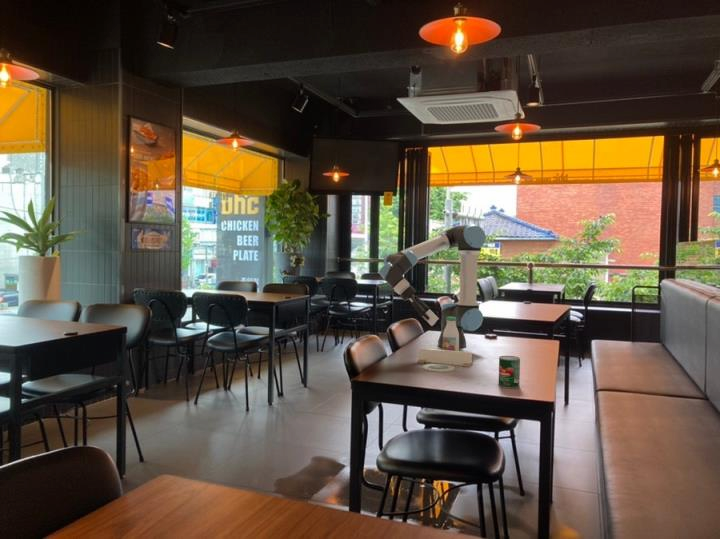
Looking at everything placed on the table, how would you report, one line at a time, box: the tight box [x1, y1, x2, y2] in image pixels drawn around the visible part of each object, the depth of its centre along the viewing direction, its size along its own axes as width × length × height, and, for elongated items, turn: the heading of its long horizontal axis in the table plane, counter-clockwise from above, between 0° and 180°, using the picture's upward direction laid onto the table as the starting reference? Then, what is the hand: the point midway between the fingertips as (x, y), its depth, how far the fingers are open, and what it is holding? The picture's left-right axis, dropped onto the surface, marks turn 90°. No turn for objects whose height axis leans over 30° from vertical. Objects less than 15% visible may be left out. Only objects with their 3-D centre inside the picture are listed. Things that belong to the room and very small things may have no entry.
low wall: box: [417, 347, 473, 368], centre depth 260 cm, size 24×6×6 cm, turn 69°
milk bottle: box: [442, 317, 460, 351], centre depth 271 cm, size 8×8×20 cm
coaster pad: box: [422, 363, 456, 373], centre depth 249 cm, size 14×14×1 cm
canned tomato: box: [498, 355, 521, 389], centre depth 219 cm, size 8×8×11 cm
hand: (435, 322), depth 272 cm, fingers open, 13 cm apart
